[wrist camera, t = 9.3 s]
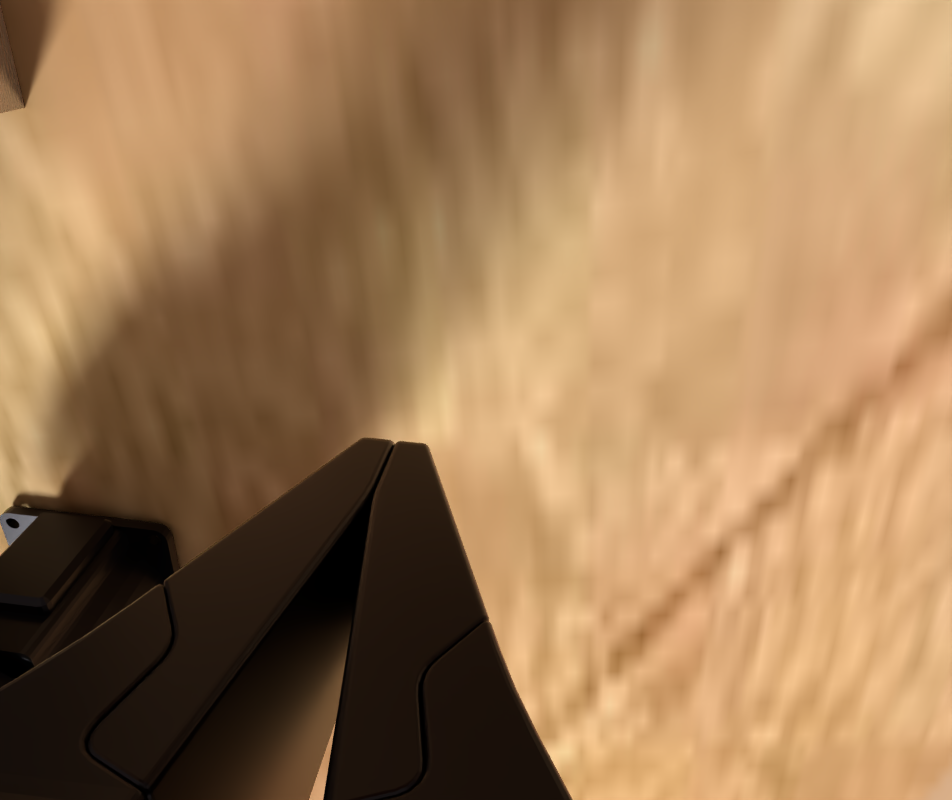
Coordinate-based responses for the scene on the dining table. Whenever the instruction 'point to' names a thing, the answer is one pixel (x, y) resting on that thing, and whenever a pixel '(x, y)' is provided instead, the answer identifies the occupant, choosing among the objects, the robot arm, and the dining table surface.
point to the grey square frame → (8, 74)
